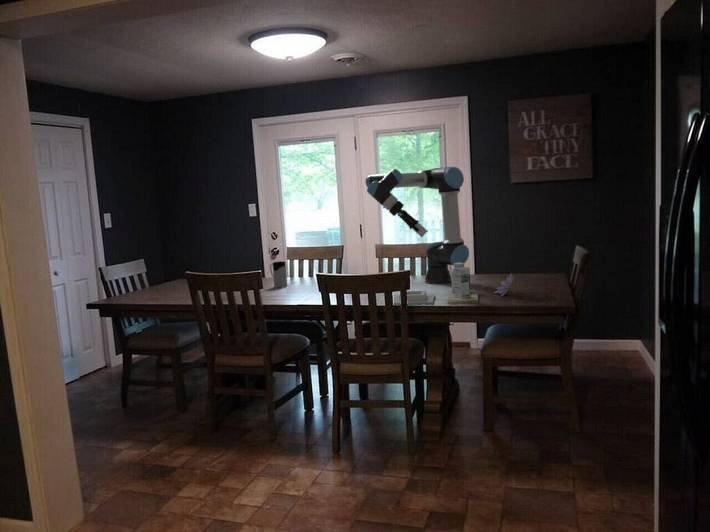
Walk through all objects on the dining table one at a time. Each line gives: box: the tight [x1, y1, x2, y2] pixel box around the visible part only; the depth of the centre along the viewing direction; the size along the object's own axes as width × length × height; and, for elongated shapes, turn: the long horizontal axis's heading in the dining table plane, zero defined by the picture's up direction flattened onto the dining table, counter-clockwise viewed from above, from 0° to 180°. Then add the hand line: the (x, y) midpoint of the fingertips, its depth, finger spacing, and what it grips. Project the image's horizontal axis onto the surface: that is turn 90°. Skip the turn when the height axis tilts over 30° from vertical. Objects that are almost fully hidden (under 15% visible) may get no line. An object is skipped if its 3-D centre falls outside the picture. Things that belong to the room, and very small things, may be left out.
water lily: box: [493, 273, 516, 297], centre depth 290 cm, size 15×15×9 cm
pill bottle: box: [450, 263, 465, 294], centre depth 305 cm, size 8×8×15 cm
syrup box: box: [452, 266, 472, 299], centre depth 285 cm, size 6×6×14 cm
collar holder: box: [392, 290, 436, 306], centre depth 290 cm, size 20×20×4 cm
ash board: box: [447, 293, 479, 305], centre depth 285 cm, size 18×14×1 cm
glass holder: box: [269, 261, 289, 288], centre depth 360 cm, size 9×14×15 cm, turn 41°
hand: (424, 234), depth 294 cm, fingers open, 13 cm apart
